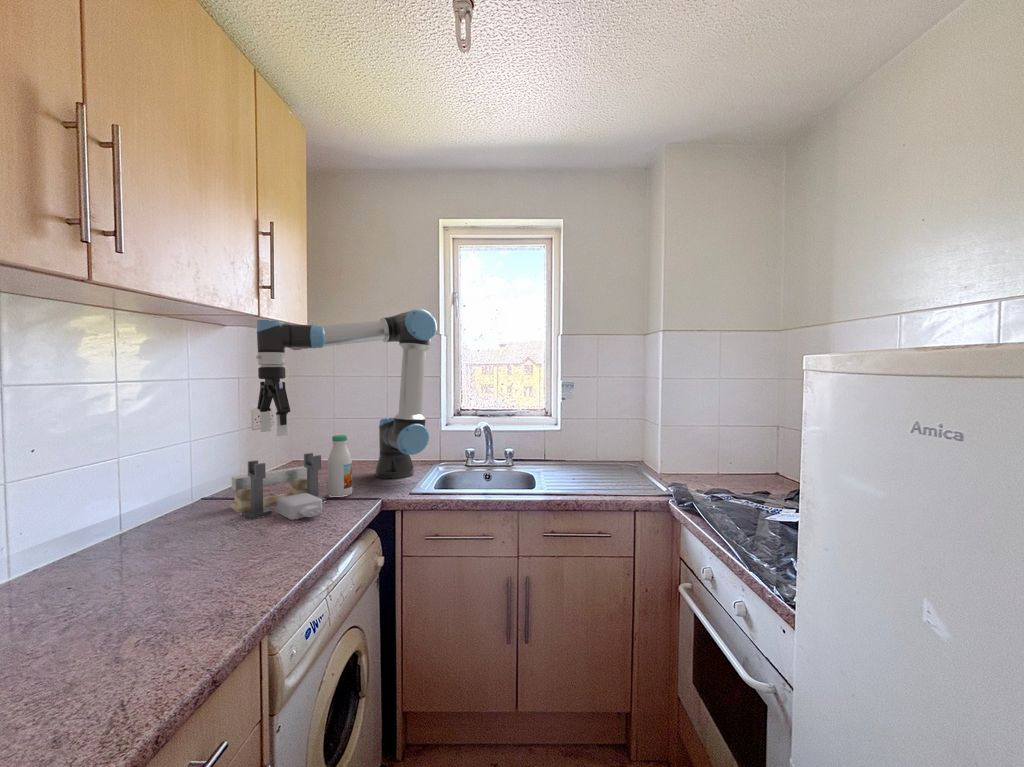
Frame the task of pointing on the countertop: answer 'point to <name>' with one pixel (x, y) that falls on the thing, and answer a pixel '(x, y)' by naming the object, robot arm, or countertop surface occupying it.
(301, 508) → the charger
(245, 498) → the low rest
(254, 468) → the hook standards
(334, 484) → the milk bottle
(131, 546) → the countertop surface
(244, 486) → the rail
